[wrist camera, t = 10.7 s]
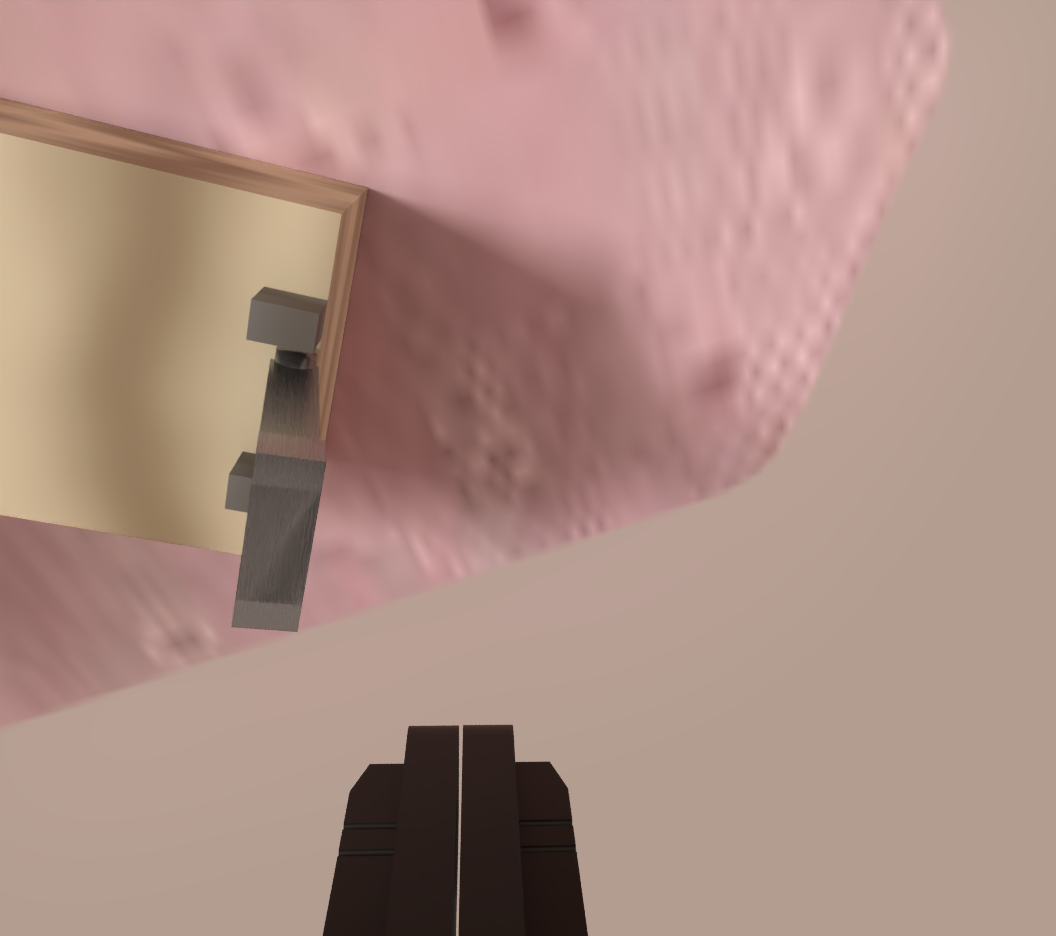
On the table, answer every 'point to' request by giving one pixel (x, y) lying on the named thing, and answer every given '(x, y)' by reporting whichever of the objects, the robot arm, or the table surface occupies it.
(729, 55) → the table surface
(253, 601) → the grey handle
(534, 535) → the table surface
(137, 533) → the block
